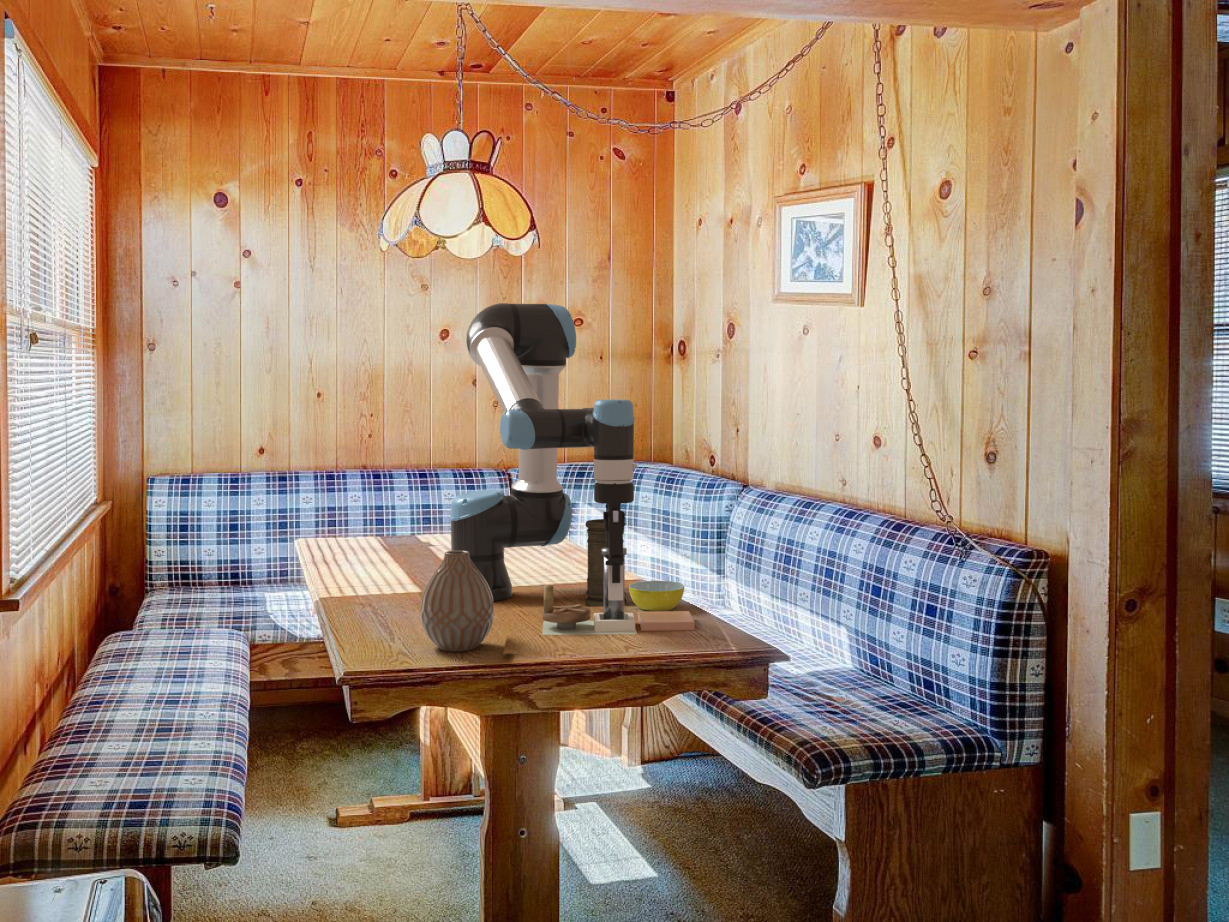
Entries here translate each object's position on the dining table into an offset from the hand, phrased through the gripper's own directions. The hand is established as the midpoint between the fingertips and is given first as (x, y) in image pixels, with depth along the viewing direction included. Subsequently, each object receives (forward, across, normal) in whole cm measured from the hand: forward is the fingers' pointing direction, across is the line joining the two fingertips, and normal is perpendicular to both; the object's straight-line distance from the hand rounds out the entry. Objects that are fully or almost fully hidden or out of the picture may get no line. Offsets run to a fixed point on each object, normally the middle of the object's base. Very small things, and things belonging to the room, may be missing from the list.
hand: (614, 593), depth 226 cm
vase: (+8, -9, +29) cm, 31 cm away
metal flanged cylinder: (+7, 0, 0) cm, 7 cm away
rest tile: (+8, +2, -10) cm, 13 cm away
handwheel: (+5, 0, +9) cm, 10 cm away
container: (+8, +30, 0) cm, 31 cm away
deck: (+8, 0, +5) cm, 9 cm away
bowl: (+8, +18, -10) cm, 22 cm away
